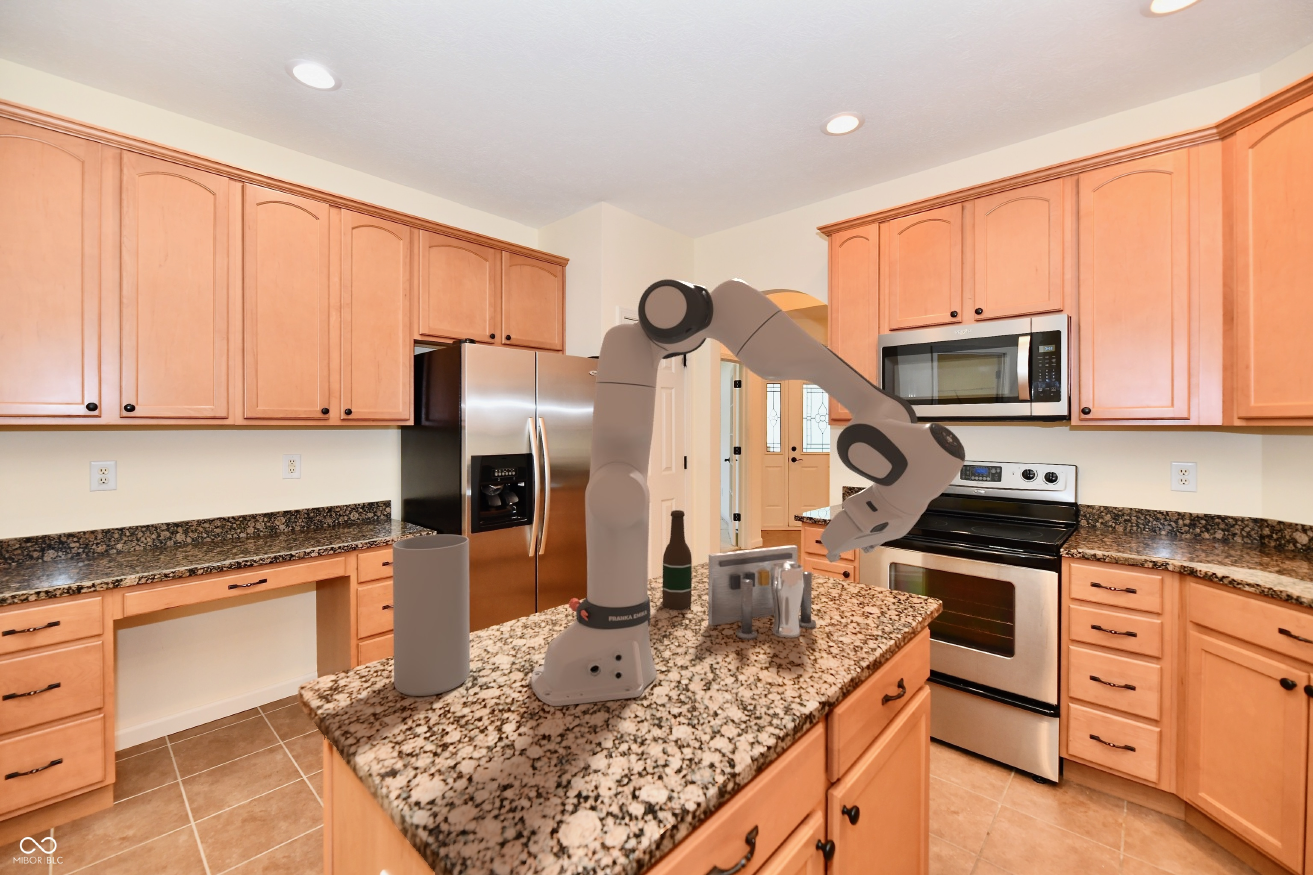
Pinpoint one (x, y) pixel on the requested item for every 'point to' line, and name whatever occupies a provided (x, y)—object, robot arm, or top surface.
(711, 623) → the panel
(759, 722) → the top surface
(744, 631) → the post left
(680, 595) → the beer bottle
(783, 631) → the beer glass
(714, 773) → the top surface
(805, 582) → the post right
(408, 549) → the cylinder vase
